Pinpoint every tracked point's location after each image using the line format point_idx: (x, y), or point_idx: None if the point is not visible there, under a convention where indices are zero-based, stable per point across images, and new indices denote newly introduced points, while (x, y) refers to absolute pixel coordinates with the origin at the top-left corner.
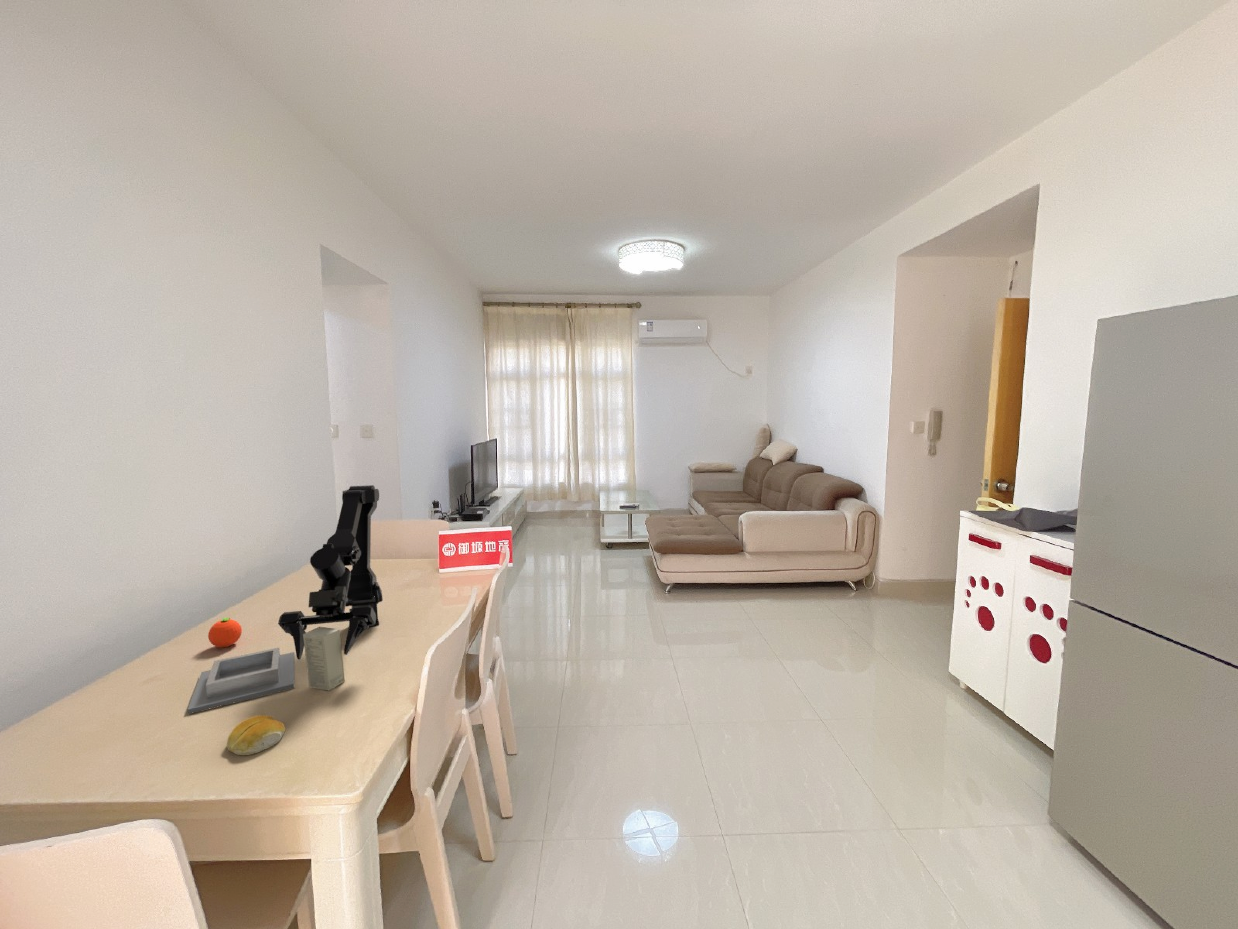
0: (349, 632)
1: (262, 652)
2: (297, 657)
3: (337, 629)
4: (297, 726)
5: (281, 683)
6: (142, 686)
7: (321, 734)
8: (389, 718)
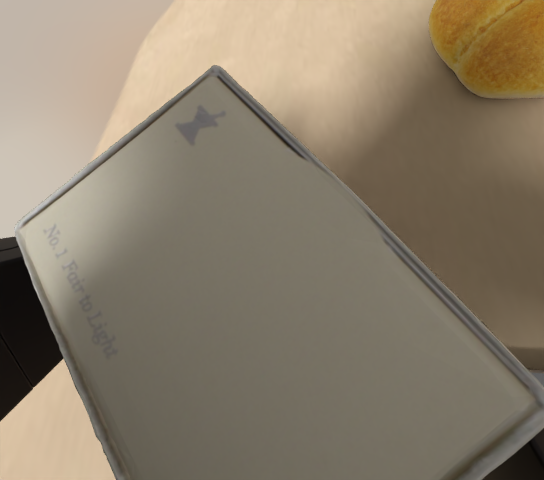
0: (2, 255)
1: None
2: None
3: (30, 244)
4: (393, 71)
5: None
6: None
7: (329, 17)
8: (181, 30)
